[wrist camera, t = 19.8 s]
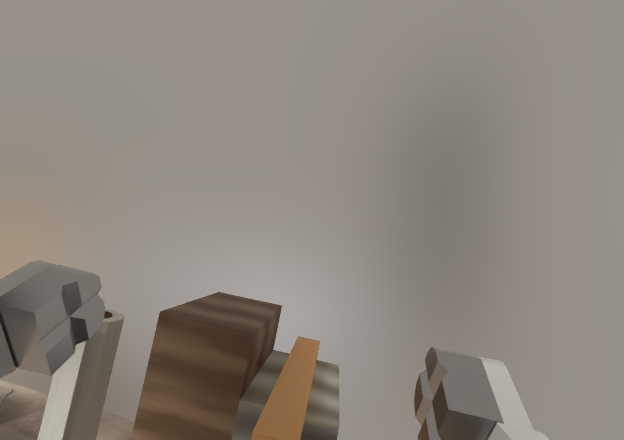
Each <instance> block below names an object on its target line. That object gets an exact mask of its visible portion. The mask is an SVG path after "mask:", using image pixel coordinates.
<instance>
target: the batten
mask: <svg viewBox="0 0 624 440" xmlns="http://www.w3.org/2000/svg"><path fill="white" fill-rule="evenodd" d="M319 344H320V341H316V340H312V339H307V338H303V337H298V338H297V340H296V342H295V344H294V347H293V348H292V350H291V353H290V355H289V357H288V359H287V361H286V363H285V365H284V367H283V369H282V371H281V374H280V376H279V378H278V380H277V382H276V384H275V386H274V388H273V390H272V392H271V394H270V397H269V399H268V401H267V403H266V405H265V407H264V409H263V411H262V413H261V415H260V417H259V420H258V422H257V424H256V426H255V428H254V430H253V432H252V437H251V440H300V439H301V434H302V429H303V424H304V420H305V415H306V410H307V405H308V400H309V395H310V390H311V385H312V380H313V375H314V370H315V365H316V360H317V355H318V349H319Z"/></svg>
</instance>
